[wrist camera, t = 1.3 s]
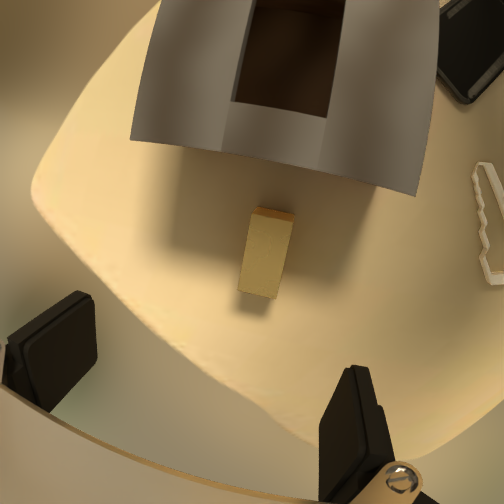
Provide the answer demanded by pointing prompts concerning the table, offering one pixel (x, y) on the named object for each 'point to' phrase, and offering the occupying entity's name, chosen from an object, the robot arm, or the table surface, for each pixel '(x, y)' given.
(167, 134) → the box
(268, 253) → the wooden block
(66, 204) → the table surface
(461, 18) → the phone
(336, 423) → the robot arm
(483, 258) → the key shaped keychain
